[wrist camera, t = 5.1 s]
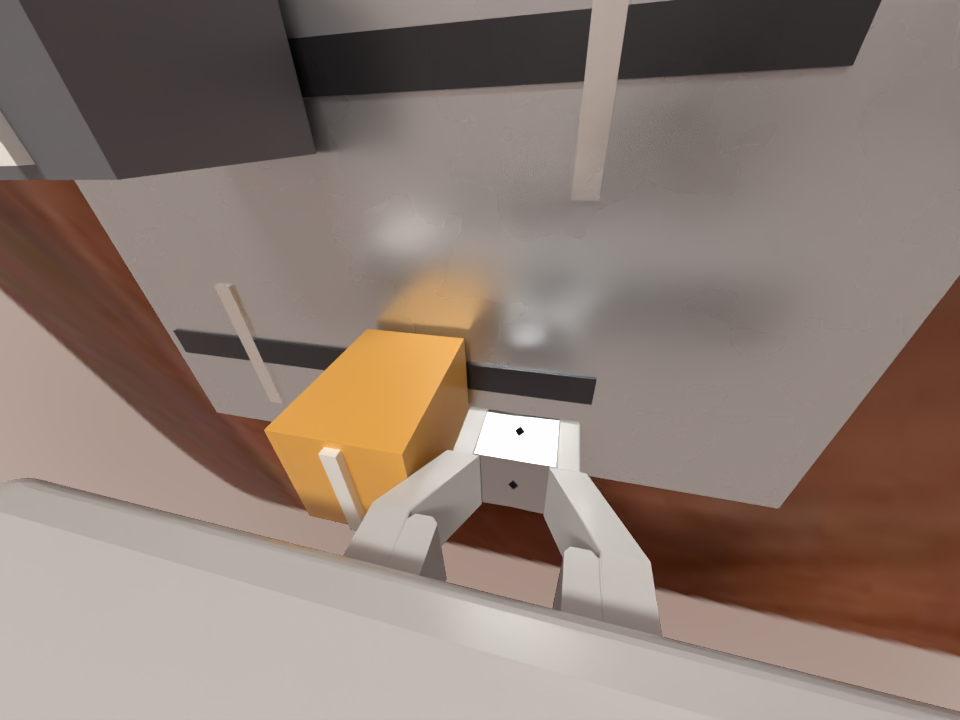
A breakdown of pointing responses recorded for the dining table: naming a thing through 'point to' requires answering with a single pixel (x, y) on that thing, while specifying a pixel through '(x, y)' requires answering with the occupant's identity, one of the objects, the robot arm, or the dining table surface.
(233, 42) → the grey striped slider knob
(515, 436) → the robot arm
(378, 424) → the orange slider knob
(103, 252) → the dining table surface
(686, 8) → the console board
